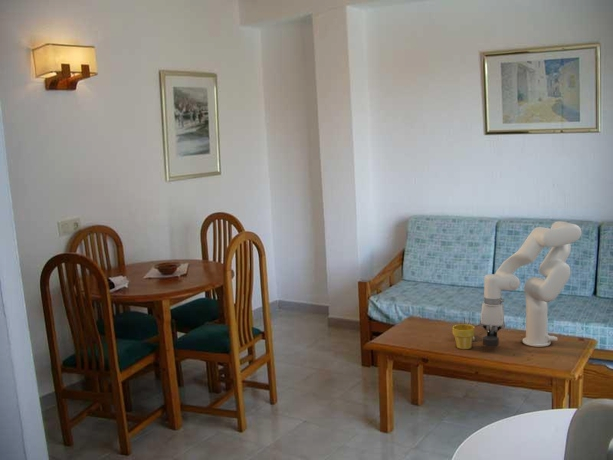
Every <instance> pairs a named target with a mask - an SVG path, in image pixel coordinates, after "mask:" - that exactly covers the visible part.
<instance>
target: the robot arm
mask: <svg viewBox="0 0 613 460" xmlns="http://www.w3.org/2000/svg"><path fill="white" fill-rule="evenodd" d="M581 238H582V229H581V227H580V226H579V225H578V224H576V223H572V222H567V221H562V220H561V221H560V220H558V221H554V222H553V223H552V224H551V227H550V228H549V227H543V226H537V227H535V228H533V229H532V230H531V232H530V233H529V234H528V236H527V238H526V239H525V240H524V242H523V243H522V244H521V245H520V247H519V249H518V250H517V251H516V252H514V253H513V254H511V255H510V256H509V257H508V258H506V259H505V260H504V261H503V262H502V263H501V264H500V265H499V267H498V268H497V270H496V271H495V273H488V274H486V275H484V277H483V282H484V284H483V302H482V304H481V310H480V311H481V312H480V322H479V323H478V325H479V326H478V327H481V328H483V329H484V330H485V332H486V336H490V331H491V329H490V328H491V327H492V326H495V330H494V336H495V337H498V331H500V330H501V329H505V328H506V323H505V311H504V310H505V309H504V305H503V303H505V299H503V298H502V291H509V292H511V291H512V292H513V291H516V290H517V289H518V288H519V287H520V285H521V281H520V279H519V277H518V276H516V275H515V274H513V273H514V272H515V271H517V270H518V269H520V268H521V267H522V266H526V265H530V264H532V263H533V262H535V261H536V260H537V258H538V257H539V255H540V254H541V252H542V250H543V249H544V248H550V250H549V251H548V253H547V254H546V256H544V258H543V260H542V262H541V263H540V264H539V267H538V272H539V274H540V275H541V276H542V277H544V278H545V279H544V278H542V277H538V276H532V277H529V278H527V280H525V282H524V285H523V286H524V287H523V290H524V296H525V337H523V338H522V343H523V344H524V345H525V346H530V347H536V348H537V347H538V348H543V347H548V346H550V345H551V342H558V336H555V335H550V334H549V332H548V310H549V309H548V303H550V302H553V301H554V300H556V299H557V297H558V296H559V295H560V293H561V291H562V290H563V289H564V287H565V286H566V284H567V283H568V281H569V279H570V277H571V274H572V273H571V271H572V270H571V267H570V265H569V264H568V263H567V260H568V258H569V256H570V254H571V251H572V245H571V244H572V243H576V242H577V241H579V240H580V239H581ZM490 326H491V327H490Z"/></svg>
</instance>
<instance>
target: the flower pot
mask: <svg viewBox="0 0 613 460" xmlns="http://www.w3.org/2000/svg"><path fill="white" fill-rule="evenodd" d="M452 335H453V336H454V340H455V344H456V345H455V346H456V348H457V349H460V350H469V349H472V347H473V342H474V341H473V336H474V337H475V335H476V326H474V325H472V324H469V325H468V323H467V324H466V323H464V324H463V323H461V324H455V325H453V326H452Z"/></svg>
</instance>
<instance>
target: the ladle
mask: <svg viewBox="0 0 613 460" xmlns="http://www.w3.org/2000/svg"><path fill="white" fill-rule="evenodd" d="M490 328H491V329H490V336H487V335H484V336H482V345H483V346H485V347H487V348H488V347H489V348H494V347H495V348H496V347H498V346H499V345H500V339H499V337H498V336H497V337H495V336H494V330H495V326H491V327H490Z"/></svg>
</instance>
